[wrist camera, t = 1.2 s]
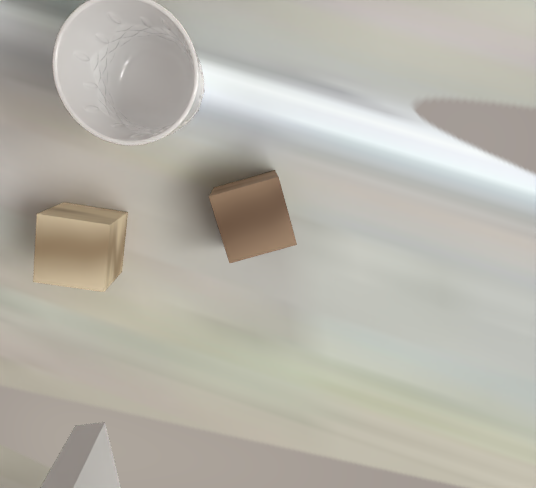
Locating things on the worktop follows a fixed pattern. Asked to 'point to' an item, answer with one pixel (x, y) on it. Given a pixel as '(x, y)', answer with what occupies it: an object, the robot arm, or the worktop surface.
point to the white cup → (127, 71)
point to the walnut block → (252, 216)
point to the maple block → (79, 246)
